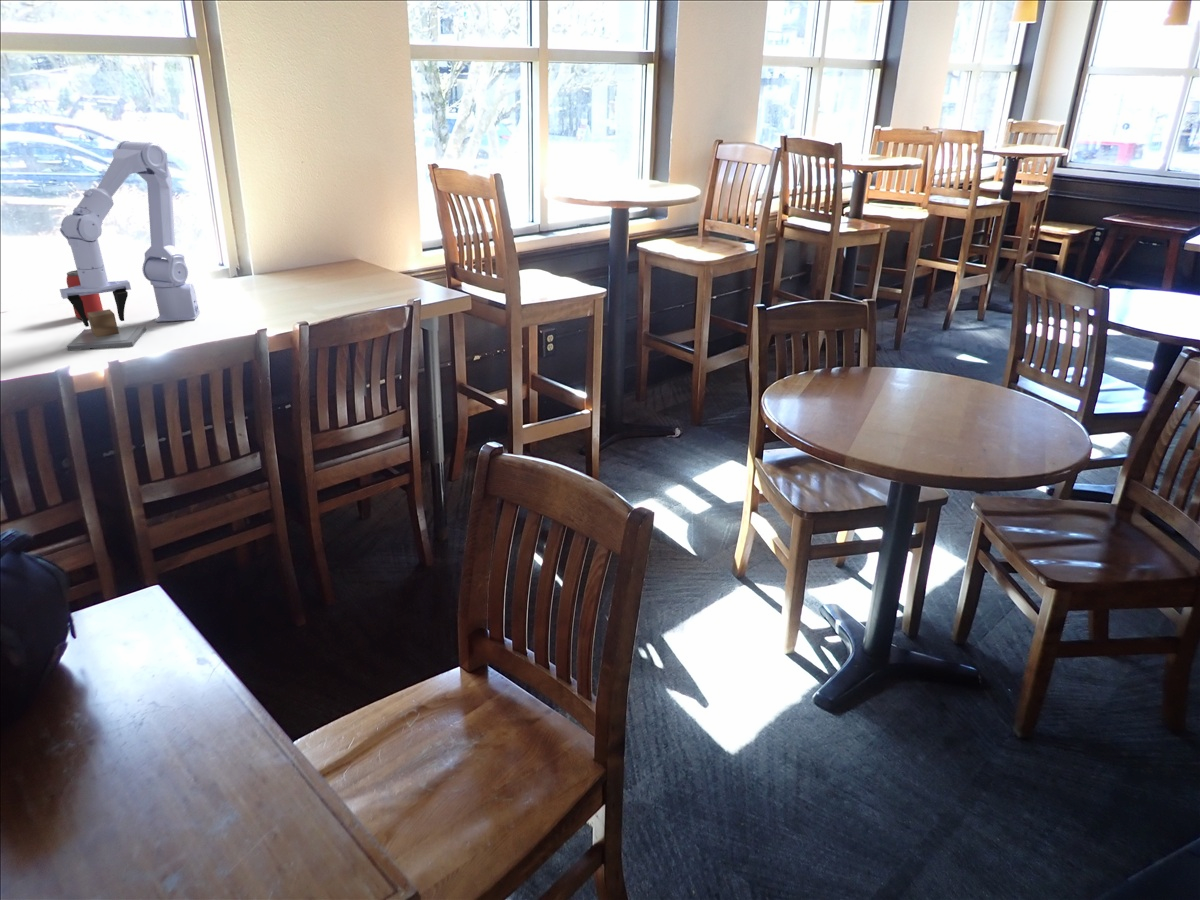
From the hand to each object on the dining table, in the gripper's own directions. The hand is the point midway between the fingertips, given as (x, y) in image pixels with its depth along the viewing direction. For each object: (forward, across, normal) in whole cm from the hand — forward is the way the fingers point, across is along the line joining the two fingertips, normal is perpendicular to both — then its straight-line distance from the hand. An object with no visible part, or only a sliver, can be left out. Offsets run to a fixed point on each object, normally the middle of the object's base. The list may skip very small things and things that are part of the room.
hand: (104, 322), depth 203 cm
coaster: (+4, 0, 0) cm, 4 cm away
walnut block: (+3, 0, -2) cm, 4 cm away
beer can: (+4, -1, -25) cm, 26 cm away
